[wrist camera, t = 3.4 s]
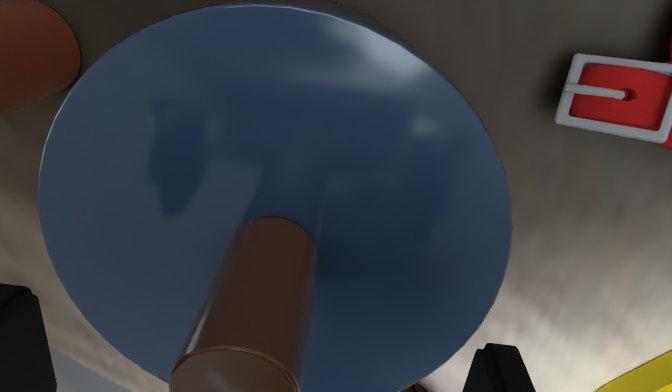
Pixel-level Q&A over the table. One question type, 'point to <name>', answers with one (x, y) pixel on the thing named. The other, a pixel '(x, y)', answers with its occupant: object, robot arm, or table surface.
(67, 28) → the pill bottle
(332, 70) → the canister lid
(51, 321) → the table surface
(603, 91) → the tracker holder
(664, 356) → the crank
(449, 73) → the table surface
